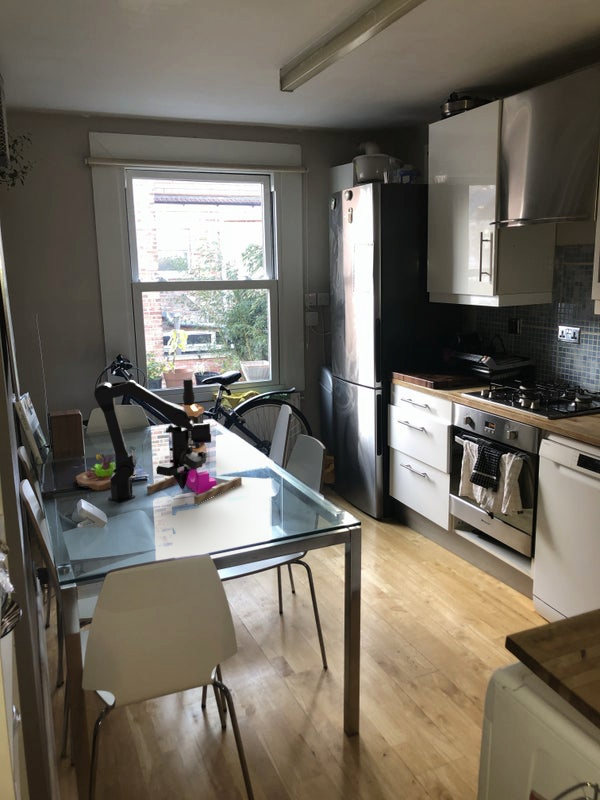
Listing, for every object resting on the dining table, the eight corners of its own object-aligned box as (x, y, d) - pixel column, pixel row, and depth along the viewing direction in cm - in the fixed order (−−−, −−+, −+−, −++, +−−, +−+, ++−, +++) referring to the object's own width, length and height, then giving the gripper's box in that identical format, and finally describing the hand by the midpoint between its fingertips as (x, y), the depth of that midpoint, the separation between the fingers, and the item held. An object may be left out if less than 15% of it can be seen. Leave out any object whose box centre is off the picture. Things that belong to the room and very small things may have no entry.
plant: (65, 483, 235) (63, 454, 233) (110, 470, 250) (108, 442, 248) (100, 494, 223) (97, 463, 221) (144, 479, 238) (142, 450, 236)
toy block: (216, 492, 222) (216, 472, 221) (199, 496, 219) (198, 474, 218) (201, 481, 235) (200, 461, 234) (184, 483, 232) (183, 463, 231)
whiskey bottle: (207, 452, 271) (203, 377, 265) (199, 459, 261) (195, 381, 255) (183, 451, 273) (179, 377, 267) (175, 458, 263) (170, 381, 257)
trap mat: (227, 488, 226) (227, 486, 226) (186, 479, 236) (186, 478, 236) (238, 483, 231) (238, 482, 231) (196, 475, 241) (196, 474, 241)
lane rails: (197, 504, 210) (197, 496, 210) (147, 493, 222) (146, 485, 222) (241, 483, 230) (241, 476, 230) (193, 474, 242) (193, 466, 242)
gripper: (179, 454, 206) (182, 500, 209) (216, 441, 221) (218, 484, 224) (154, 449, 212) (156, 494, 215) (191, 437, 227) (193, 479, 230)
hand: (182, 488), depth 221 cm, fingers closed
